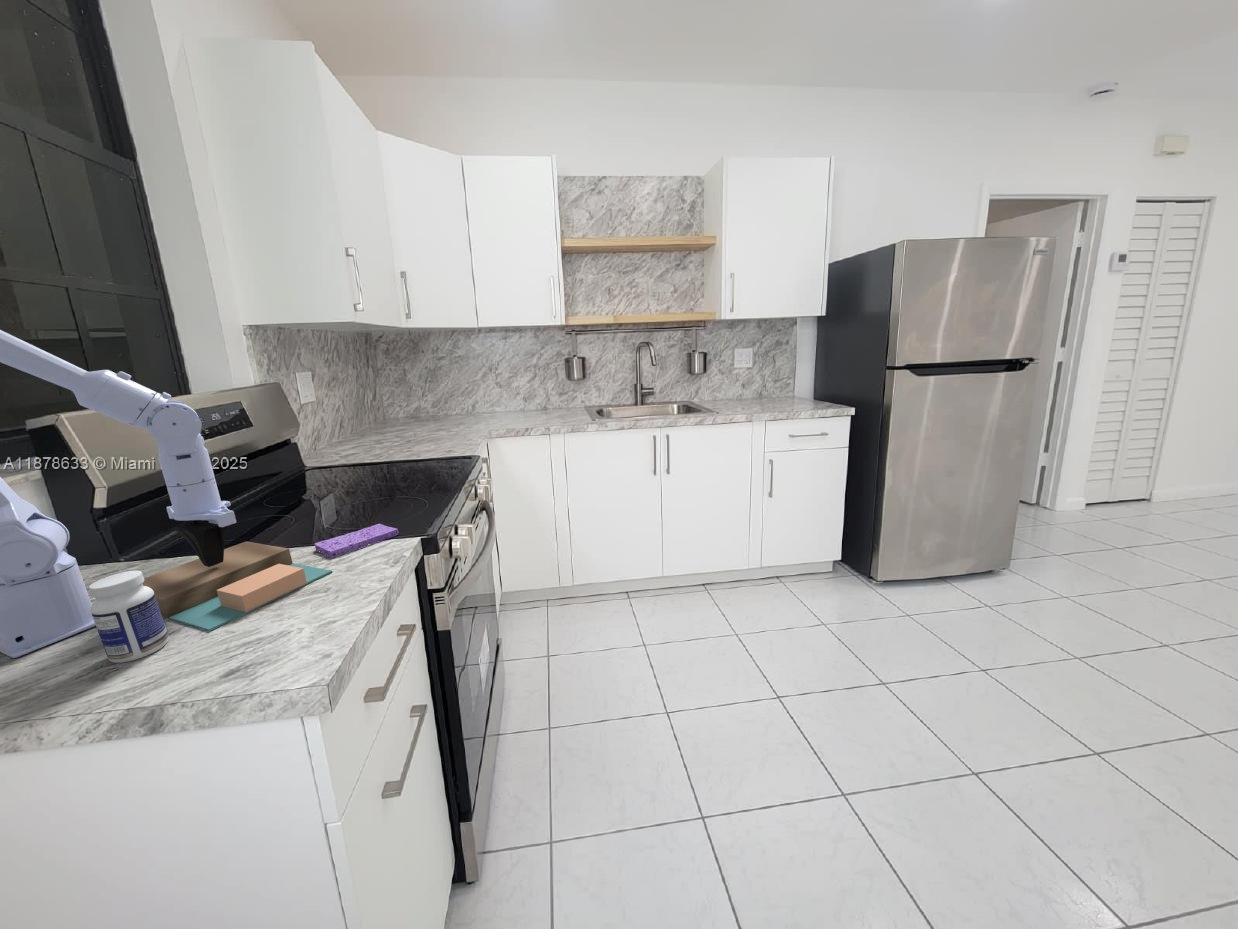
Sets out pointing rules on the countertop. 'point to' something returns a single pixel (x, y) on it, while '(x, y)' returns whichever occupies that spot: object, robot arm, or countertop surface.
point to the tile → (261, 587)
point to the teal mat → (216, 615)
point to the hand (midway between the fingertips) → (214, 563)
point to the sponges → (355, 540)
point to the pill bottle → (127, 617)
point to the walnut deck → (211, 576)
